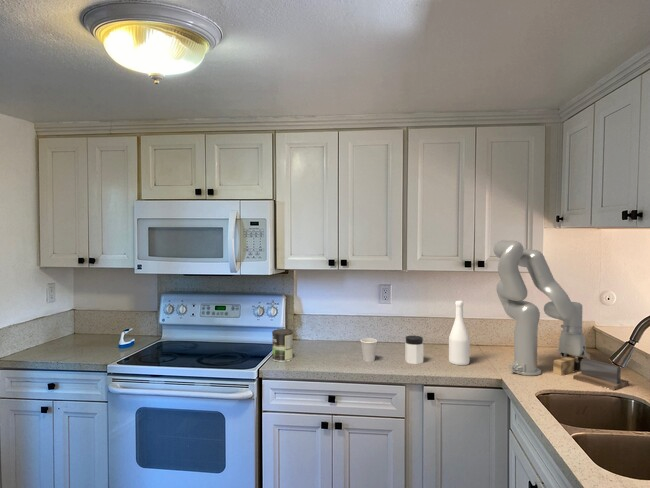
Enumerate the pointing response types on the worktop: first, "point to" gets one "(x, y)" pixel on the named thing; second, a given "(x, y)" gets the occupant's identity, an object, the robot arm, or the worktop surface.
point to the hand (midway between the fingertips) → (572, 368)
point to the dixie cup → (368, 349)
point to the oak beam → (565, 365)
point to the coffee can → (282, 345)
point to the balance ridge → (600, 374)
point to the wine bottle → (459, 339)
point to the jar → (414, 350)
